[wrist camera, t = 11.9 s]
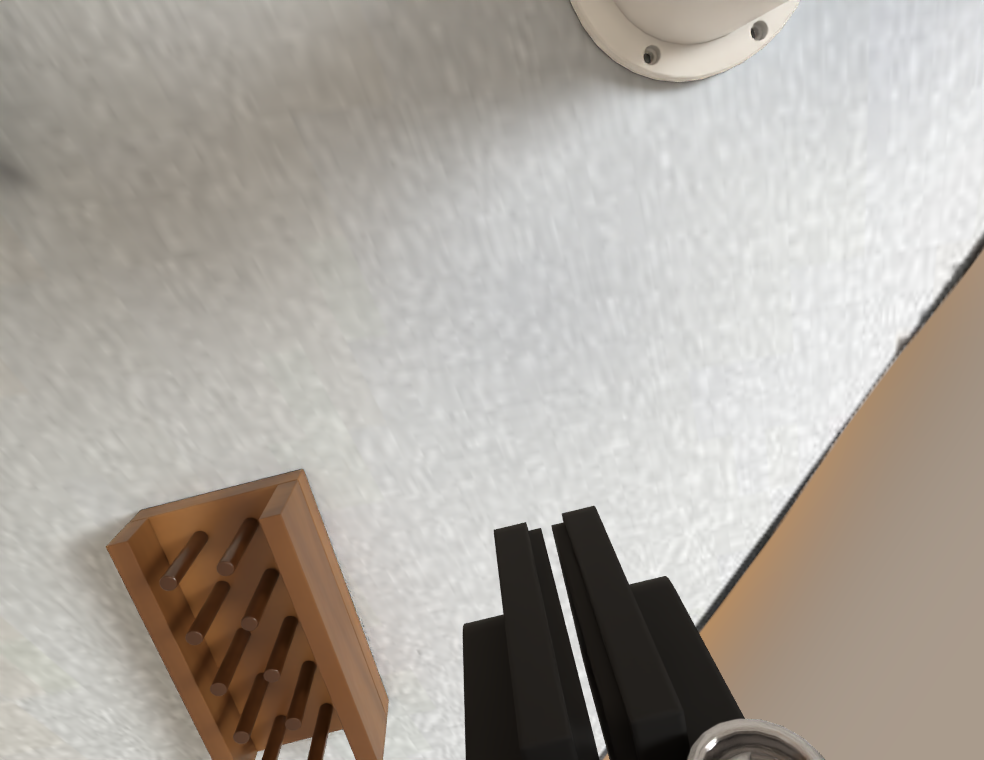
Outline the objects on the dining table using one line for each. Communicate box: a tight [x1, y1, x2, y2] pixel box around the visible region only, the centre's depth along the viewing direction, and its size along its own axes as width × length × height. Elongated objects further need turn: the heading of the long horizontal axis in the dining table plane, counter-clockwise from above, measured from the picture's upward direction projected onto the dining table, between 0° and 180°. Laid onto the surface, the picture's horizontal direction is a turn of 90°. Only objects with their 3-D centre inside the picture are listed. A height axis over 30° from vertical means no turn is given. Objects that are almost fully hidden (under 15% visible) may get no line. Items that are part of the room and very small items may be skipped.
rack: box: [106, 469, 389, 760], centre depth 36 cm, size 10×18×6 cm, turn 14°
